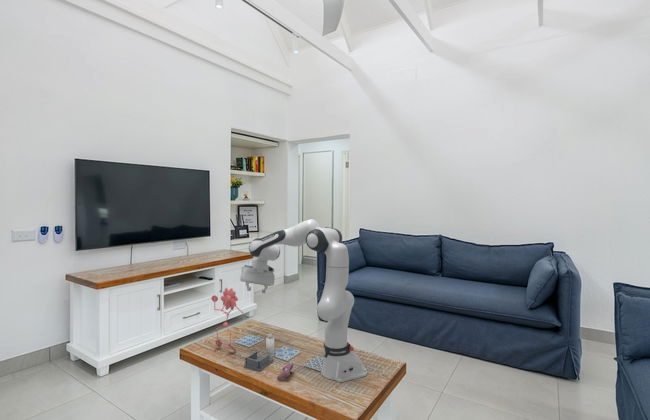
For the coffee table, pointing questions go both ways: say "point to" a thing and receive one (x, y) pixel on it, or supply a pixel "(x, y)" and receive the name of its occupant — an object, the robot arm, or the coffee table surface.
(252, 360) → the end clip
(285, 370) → the pink irregular piece
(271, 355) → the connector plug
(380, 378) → the coffee table surface
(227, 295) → the pink flower
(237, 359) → the coffee table surface
